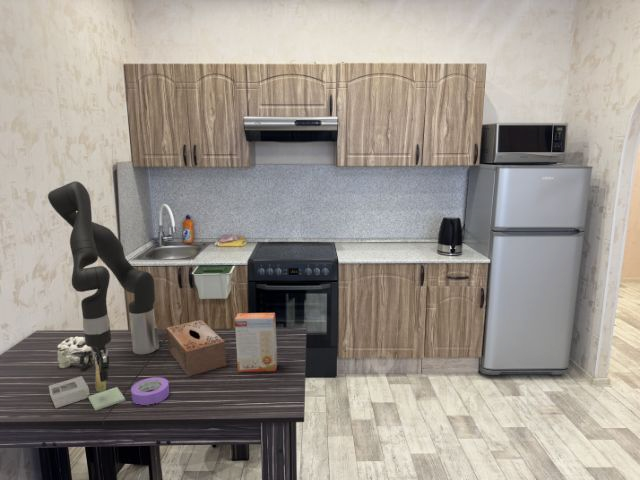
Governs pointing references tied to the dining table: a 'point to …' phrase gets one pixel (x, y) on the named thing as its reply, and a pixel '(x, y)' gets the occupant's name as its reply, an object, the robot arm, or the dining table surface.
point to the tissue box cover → (196, 347)
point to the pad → (106, 398)
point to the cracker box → (256, 342)
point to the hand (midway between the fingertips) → (102, 378)
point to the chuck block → (69, 391)
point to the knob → (99, 385)
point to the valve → (73, 358)
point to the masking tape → (154, 396)
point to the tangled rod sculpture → (74, 347)
